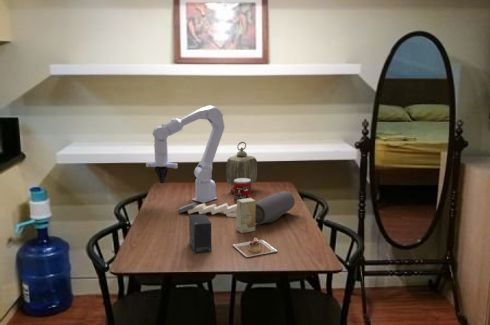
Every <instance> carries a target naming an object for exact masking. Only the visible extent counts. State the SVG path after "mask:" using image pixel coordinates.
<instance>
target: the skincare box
mask: <svg viewBox="0 0 490 325" xmlns="http://www.w3.org/2000/svg"><path fill="white" fill-rule="evenodd" d="M256 202H257V201H256V199H253V198H252V197H251V198H247V199H240V200H237V210H236V211H237V217H236V231H237V232H239V233H241V234H243V233H249V232H255V231H256V223H255V210H256Z"/></svg>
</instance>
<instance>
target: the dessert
mask: <svg viewBox="0 0 490 325" xmlns="http://www.w3.org/2000/svg"><path fill="white" fill-rule="evenodd" d="M260 243H261V244H262V245H264V246H265V247H266V248H268V249H269V250H270V251H269V252H268V251H267V252H264V253H257V252H260V251H261V250H262V248H261V245H260ZM232 246H233V247H234V248H235V249H236V250H238V252H240V253H241V255H243V256H245V258H252V257H256V256H257V257H258V256H261V255H267V254H272V253H273V254H274V253H276V252H278V250H277V249H276V248H275V247H273V246H272V245H271V244H269V243H268V242H267V241H265V240H264V239H258V238H257V237H254V238H253V240H250V241H245V242H240V243H233V244H232ZM242 246H248V249H247V250H248V251H249V252H255V253H257V254H253V255H247V254H246V253H245V252H244V251H242V250H241V249H240V248H239V247H242Z"/></svg>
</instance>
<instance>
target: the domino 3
mask: <svg viewBox="0 0 490 325" xmlns="http://www.w3.org/2000/svg"><path fill="white" fill-rule="evenodd" d="M216 207H218V206H217V204H216V203H213V204H209V205H206V207H205V208H204V209H203V210H200V211H197V212H198V215H203V214H207V213H209V212H210V213H211V211H213V210H215V209H216Z"/></svg>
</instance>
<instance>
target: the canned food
mask: <svg viewBox="0 0 490 325" xmlns="http://www.w3.org/2000/svg"><path fill="white" fill-rule="evenodd" d="M233 187H234V190H233V203H234V205H235V204H237V200H240V199H247V198H252V183H251V180H250V179H248V178H238V179H235V180H234V185H233Z"/></svg>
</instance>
